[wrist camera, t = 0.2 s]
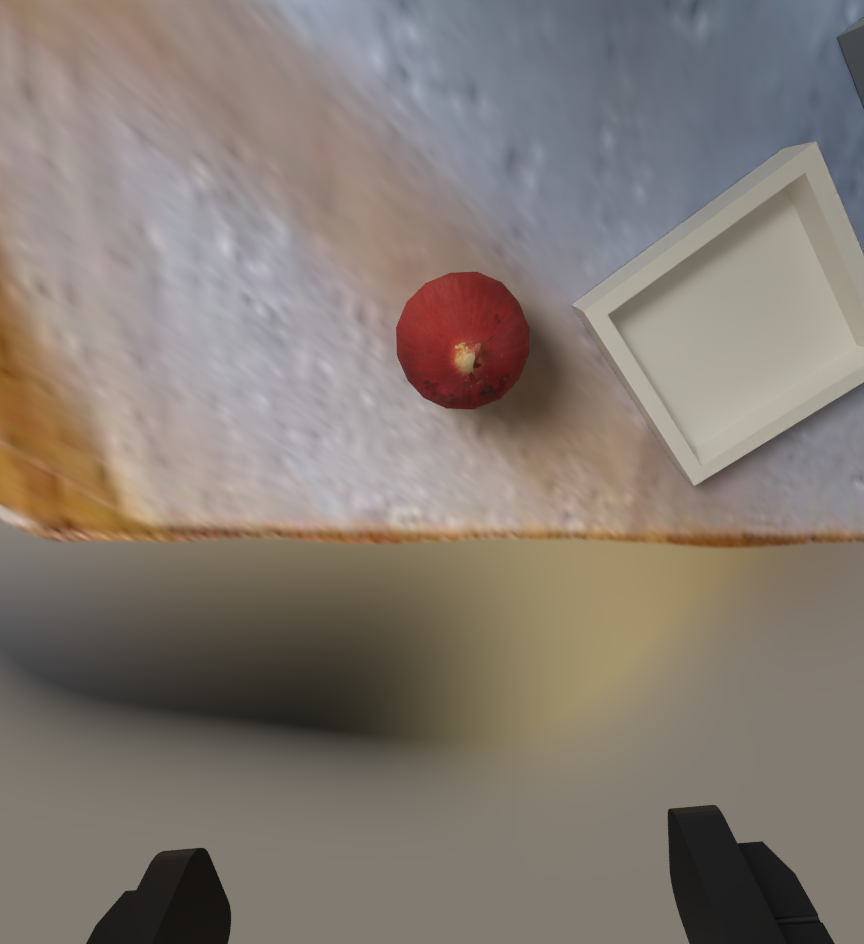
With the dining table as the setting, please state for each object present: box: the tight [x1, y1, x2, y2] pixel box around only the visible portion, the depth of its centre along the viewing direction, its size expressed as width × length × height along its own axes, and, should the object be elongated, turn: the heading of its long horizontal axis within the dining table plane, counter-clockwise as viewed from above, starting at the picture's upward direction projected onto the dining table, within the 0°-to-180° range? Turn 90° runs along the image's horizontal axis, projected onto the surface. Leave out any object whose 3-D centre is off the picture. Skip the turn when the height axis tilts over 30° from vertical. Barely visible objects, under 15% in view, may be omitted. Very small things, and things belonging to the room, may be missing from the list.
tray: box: [571, 141, 864, 486], centre depth 27 cm, size 11×11×2 cm
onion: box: [396, 272, 529, 409], centre depth 25 cm, size 6×6×8 cm
